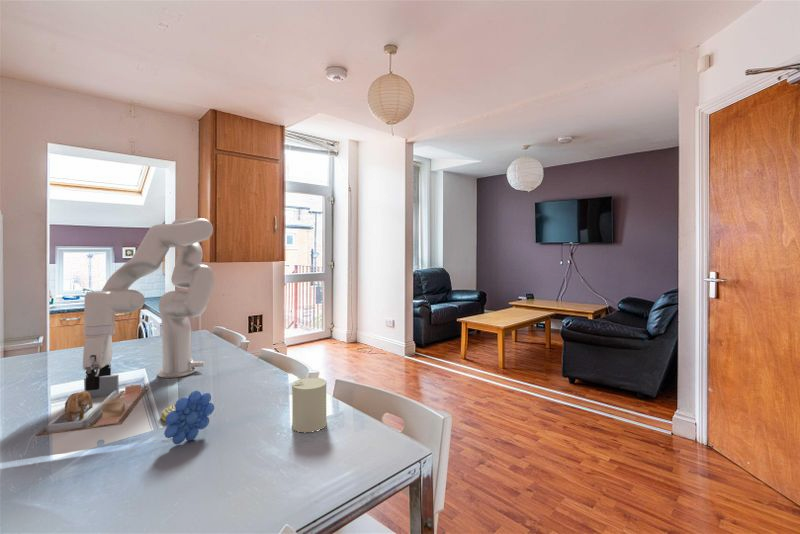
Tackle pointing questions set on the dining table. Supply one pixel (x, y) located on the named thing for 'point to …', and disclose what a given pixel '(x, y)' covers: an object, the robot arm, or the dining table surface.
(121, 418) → the lane rails
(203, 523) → the dining table surface
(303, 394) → the can
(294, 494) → the dining table surface
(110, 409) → the cube
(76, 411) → the lion figurine
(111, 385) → the grey long open box
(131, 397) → the broken strip
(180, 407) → the grapes
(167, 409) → the decorated donut
